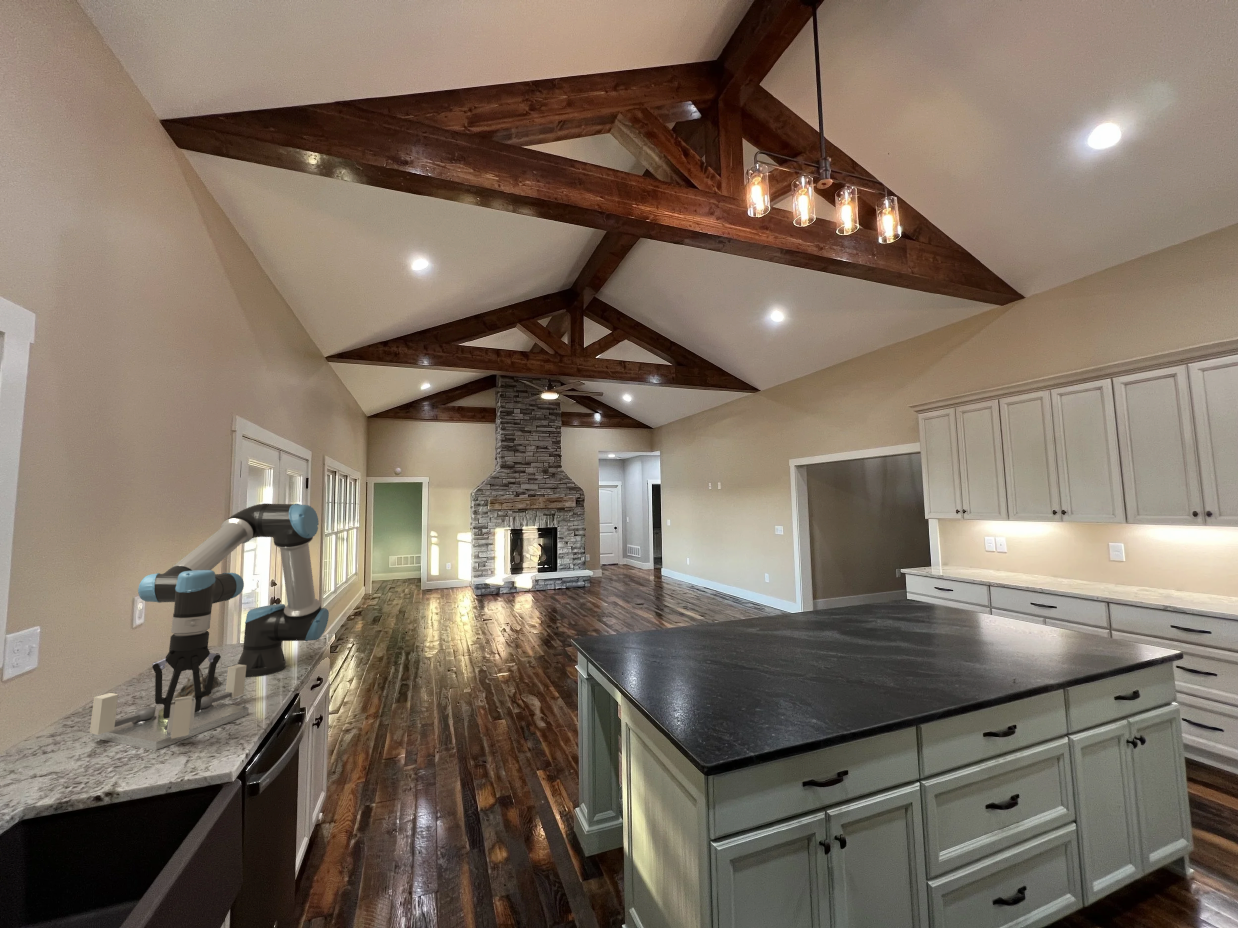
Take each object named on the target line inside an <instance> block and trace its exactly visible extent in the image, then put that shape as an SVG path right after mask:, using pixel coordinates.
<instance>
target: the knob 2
mask: <svg viewBox="0 0 1238 928" xmlns="http://www.w3.org/2000/svg"><path fill="white" fill-rule="evenodd" d="M174 702H175V709H174V718H173V727H172V732H171V739H172V738H177V737H181V736H186V735H189V725H190V716H191V706H192V697H191V696H187V697H181V698H176V699H174ZM168 719H169V718H168ZM167 726H168V721H167Z"/></svg>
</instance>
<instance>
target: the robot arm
mask: <svg viewBox="0 0 1238 928" xmlns="http://www.w3.org/2000/svg"><path fill="white" fill-rule="evenodd" d="M318 529H319V517H318V513H317V511H316V510H315V508H314V507H312V506H311V505H308V504H301V503H258V504H253V505H252V506H248V507H246V508H243V509H242V510H239V511H238V512H236V513H234V514H232V515H231V516H229V517H228V518H227V519H226V520H224V521H223V522H222V523H221V525H220V528H219V529H218V530H217V531H216V532H214V533H213V534H212V535H211V536H209V537H208V538H207V539H205V540H204V541H203V542H202V543H200V544H199V545H198V546H196V548H194V549H192V550H191V551H190V552H189V553H188V554H186V555H185V556H184V557H183V558H182V559H180V560H179V561H177V562H176V563H175V564H174V565H173V566H171V567H170V568H169V569H168V570H166V571H165V572H164V573H159V572H158V573H151V574H147V575H146V576H144V577H143V578H142V580H141V581H140V583H139V584H138V588H137V589H138V590H137V592H138V595H139V598H140V599H141V600H142V601H143V602H147V603H148V602H149V603H151V602H152V603H159V604H160V603H174V607H173V613H172V614H173V615H172V621H171V622H172V623H171V624H172V625H171V629H170V632H171V633H172V635H170V640H169V646H168V647H169V649H168V653H167V655H166V656H165V657H164V658H163V659H161V660H159V661H154V662H152V665H151V667H152V669H153V671H154V677H155V678H154V682H155V683H154V701H155V702H154V703H155V704H156V705H163V707H164V711H163V717H164V719H165V718H169V719H168V728H167V730H168V733H169V732H172V727H173V718H174V709H175V702H172V699H173V697H174V696H175V694H176V693H175V692H176V689H177V685H178V683H179V679H180V676H181V674H182V672H184V671H185V672H186V671H192V672H191V673H193V682H194V692H195V698H192V706H191V716H190V725H189V728H193V722H194V713H195V712H199V711H200V707H201V699H202V698H203V697H204V696H206V695H211V694H212V691H213V690H212V685H213V680H214V676H216V675H215V674H216V670H217V669H216V668H217V664H218V663H219V662H220V660H221V658H222V657H221V656H222V655H220V653H216V652H215V653H213V652H211V651H210V649H209V638H210V632H209V631H208V630H209V629H210V628H211V619H212V611H213V610H212V607H213V605H214V604H217V603H221V602H227V601H230V600H233V599H234V598H236V597H238V596H239V595H241V593H242V592H243V590H244V587H245V583H244V579H243V577H242V576H241V575H239V574H238V573H235V572H223V573H215V571H214V570H213V569H214V568H215V567H216V566H218V564H220V563H221V562H222V561H223V560H224V559H226V558H227V557H228V556H229V555H230V554H231V553H232V552H234V551H235V550H236V549H237V548H238V547H239V546H241V545H242V544H247V543H248V542H250V541H251V540H252V539H255V538H272V540H273V545H274V546H275V547H277V548H279V549H280V550H279V551H280V557H281V565H282V571H283V579H284V586H285V593H286V601H287V605H286V604H284V603H275V604H270V605H264V606H259V607H256V608H252V609H250V610H249V611H247V613H246V618H245V622H244V623H245V624H244V636H243V637H244V638H243V649H242V653H241V654H240V656H239V657H240V658H239V659H238V661H237V664H236V665H238V664H240V665H246V676H245V678H246V677H248V678H249V677H258V676H259V677H260V676H261V677H262V676H266V675H271V674H274V673H275V674H276V673H278V672H280V671H283V670H284V669H286V659H285V655H284V650H283V648H282V647H283V646H282V645H283V642H304V641H305V642H310V641H311V642H312V641H317V640H319V639H320V638H321V637H322V636H323V634H324V633H325V631H326V629H327V626H328V623H329V615H330V613H329V609H327V608H325V607H322V606H321V601H320V600H319V599H317V598H316V596H315V595H316V594H315V586H314V579H313V571H312V570H313V568H312V562H311V552H310V543H311V542H312V541H313V539H314V537H315V536H316V535H317V533H318ZM206 659H208V662H209V665H208V671H207V674H206V675H207V679H206V684H205V689H204V690H203V691H201V683H200V674H199V668H200V667H201V665H202V664H203V663H204V662H205V660H206ZM166 664H168V665H169V666H170V667H171V668H172V670H173V671H172V674H171V675H172V676H171V678H170V681H169V684H168V685H169V686H168V688H167V692H166V694H165V697H163V670H164V669H165V668H166ZM211 690H212V691H211Z"/></svg>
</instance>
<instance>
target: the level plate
mask: <svg viewBox="0 0 1238 928" xmlns="http://www.w3.org/2000/svg"><path fill="white" fill-rule="evenodd" d="M163 711H164V706H161V707H159V708H156V709H155V716H154V717H153V718H150V719H147V720H141V721H133V722H130V723H126V724H123V725H120V726H117V727H114V730H111V731H108V732H105V733H102V734H99V735H97V734H92V733H91V739H98V740H103V741H107V742H111V743H112V742H113V743H117V744H121V745H126V746H131V747H136V748H140V749H141V748H142V749H145V750H146V749H147V750H151V751H158V750H160V749H163V748H166V747H168V746H170V745H173V744H176V743H179V742H181V741H184V740H187V739H189V738H192V737H194V736H196V735H197V736H198V735H199V734H202V733H205V732H207V731H211V730H213V729H215V728H218V727H221V726H222V725H225V724H227V723H231V722H233V721H235V720H238V719H241V718H243V717H246V716H248V715H249V707H247V706H242V705H241V706H240V705H235V704H229V703H223V702H218V701H217V702H214V703H212V705H211V706H210V707H207V708H202V709H200V711H199V712H195V713H194V722H193V728H189V735H186V736H181V737H177V738H172V739H171V732H169V733H168V730H167V728H168V726H167V721H168V718H165V719H164V717H163Z"/></svg>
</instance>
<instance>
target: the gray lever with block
mask: <svg viewBox="0 0 1238 928" xmlns="http://www.w3.org/2000/svg"><path fill="white" fill-rule="evenodd" d="M237 664H238V663H237ZM237 664H235V665H231V666H228V667H227V674H226V683H225V684H226V685H225V692H222V693H220V694H216V695H213V696H207V697H203V698H202V699H201V707H200V709H202V708H207V707H210V706H211V705H212V703H214V702H217V703H218V702H219V701H222V700H226V699H229V698H231V699H235V698H237V697H241V696H243V695H244V693H245V684H246V677H245V676H246V665H240V664H238V665H237Z"/></svg>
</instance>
